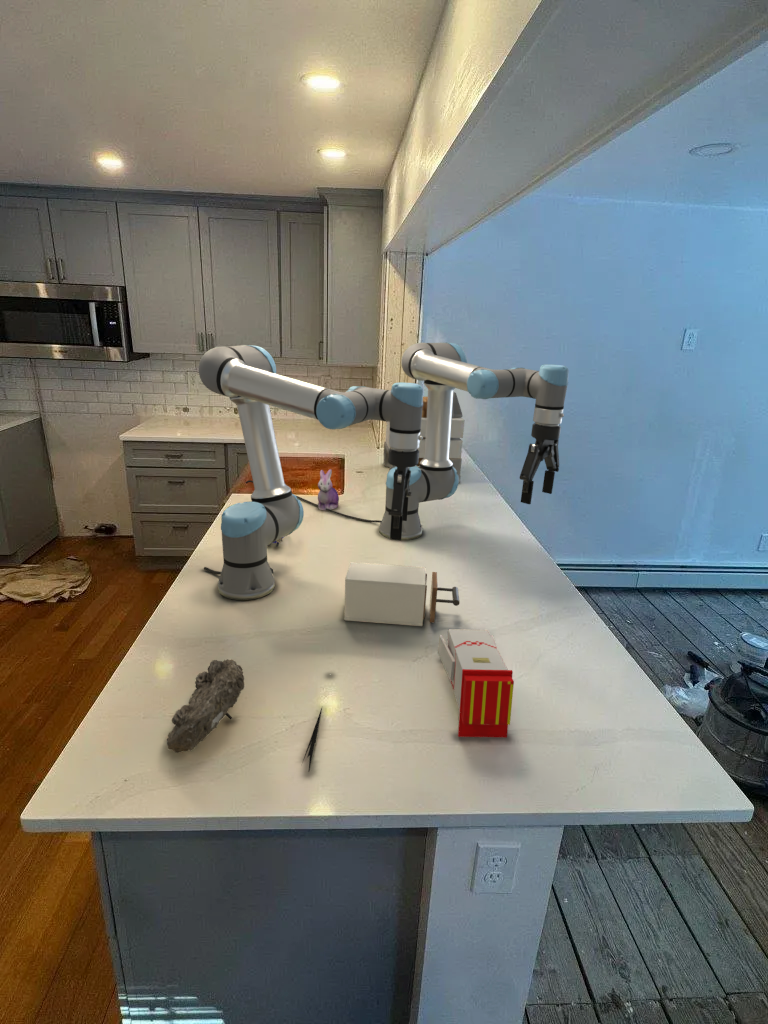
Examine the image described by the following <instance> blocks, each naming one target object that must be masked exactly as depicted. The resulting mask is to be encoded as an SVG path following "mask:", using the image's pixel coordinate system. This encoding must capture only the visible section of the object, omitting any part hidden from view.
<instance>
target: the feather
mask: <svg viewBox="0 0 768 1024" xmlns="http://www.w3.org/2000/svg"><path fill="white" fill-rule="evenodd" d="M329 675H330V676H331V675H332V674H331V673H330V674H329ZM322 710H323V707H321V708H320V710H319V713H318V716H317V719H316V723H315V725H314V728H313V731H312V733H311V737H310V739H309V742H308V745H307V748H306V751H305V754H304V757H303V760H302V763H301V767H302V765H303V763H304V761H305V758H308V759H309V760H308V762H307V763H308V764H307V766H308V771H310V770H311V766H312V765H311V764H312V760H313V757H315V756H314V755H315V751H316V749H315V746H317V739H318V733H319V729H320V722H321V717H322V712H323V711H322ZM313 754H314V755H313ZM306 755H307V757H306Z"/></svg>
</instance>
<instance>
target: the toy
mask: <svg viewBox="0 0 768 1024" xmlns="http://www.w3.org/2000/svg"><path fill="white" fill-rule="evenodd" d="M446 640H447V643H446V641H445V639H444V636H443V635H442V634H439V637H438V646H437V656H438V657H439V659H440V661H441V663H442V666H443V668H444V670H445V672H446V674H447V677H448V679H449V681H450V684H451V687H452V690H453V693H454V697H455V701H456V705H457V708H458V711H459V714H458V715H459V716H458V730H457V731H458V732H457V737H458V738H508V731H509V726H510V725H511V717H512V707H513V697H514V696H513V695H514V684H515V680H514V679H513V673H514V671H513V670H512V669H508V667H507V665H506V662H505V661H504V659H503V658H502V655H501V653H500V651H499V649H498V647H497V643H496V639H495V637H494V635H493V634H491V632H490V631H489V629H467V628H466V629H465V628H463V629H461V628H460V629H459V628H448V630H447V639H446Z"/></svg>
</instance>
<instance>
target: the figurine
mask: <svg viewBox="0 0 768 1024" xmlns="http://www.w3.org/2000/svg"><path fill="white" fill-rule="evenodd" d="M332 471H333V470H332V469H331V468H330V469H328V471H327V472H326V473H325V471H324V469H321V470H320V471H319V481H318V483H317V487H318V490H319V491H318V493H317V502H318V503H317V505H318V506H319V507H317V508H318V510H321V511H327V510H326V508H327V509H330V510H334V509H337V508H338V506H339V500H340V497H339V493H338V491H337V489H336V488H334V487H333V483H332V480H331V478H332V473H333V472H332Z"/></svg>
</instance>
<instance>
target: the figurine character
mask: <svg viewBox="0 0 768 1024" xmlns="http://www.w3.org/2000/svg"><path fill="white" fill-rule="evenodd" d="M285 537H286V536H284V537H282V538H280V539H278V540H277V541H275V542H273V543H272V544H276V545H275V547H276V548H277V547H279V545H280V544H281V543H282V542H283V539H284V538H285ZM269 547H271V544H269V545H267V548H269Z"/></svg>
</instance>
